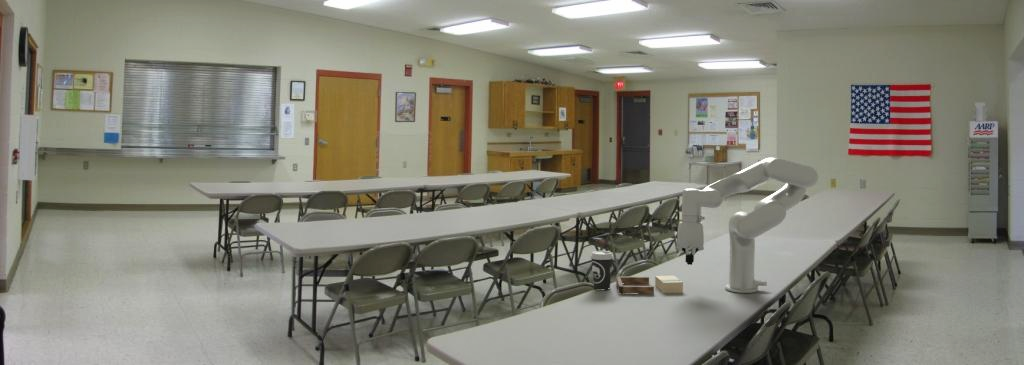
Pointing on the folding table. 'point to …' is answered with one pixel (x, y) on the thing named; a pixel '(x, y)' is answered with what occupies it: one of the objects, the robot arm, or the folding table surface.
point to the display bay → (634, 289)
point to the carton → (669, 284)
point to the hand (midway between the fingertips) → (689, 263)
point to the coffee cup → (601, 269)
